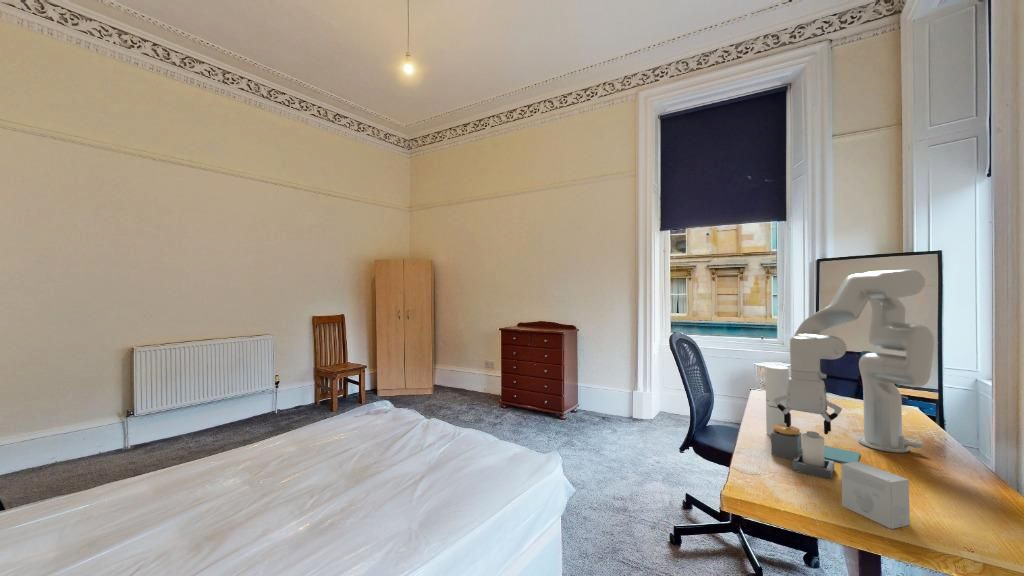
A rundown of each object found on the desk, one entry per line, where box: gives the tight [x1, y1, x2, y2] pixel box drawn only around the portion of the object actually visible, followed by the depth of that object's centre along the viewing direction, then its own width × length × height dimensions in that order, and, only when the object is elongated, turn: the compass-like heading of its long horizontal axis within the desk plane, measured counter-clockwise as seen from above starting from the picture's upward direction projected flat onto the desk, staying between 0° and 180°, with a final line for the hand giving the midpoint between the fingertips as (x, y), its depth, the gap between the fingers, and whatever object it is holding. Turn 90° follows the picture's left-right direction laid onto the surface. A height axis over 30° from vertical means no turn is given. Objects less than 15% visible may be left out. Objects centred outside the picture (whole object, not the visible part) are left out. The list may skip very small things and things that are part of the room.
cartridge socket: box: [791, 453, 835, 481], centre depth 116 cm, size 9×9×2 cm
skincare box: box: [840, 460, 911, 530], centre depth 93 cm, size 10×6×10 cm, turn 17°
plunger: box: [773, 424, 801, 436], centre depth 128 cm, size 7×7×5 cm
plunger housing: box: [770, 430, 803, 461], centre depth 128 cm, size 7×7×7 cm
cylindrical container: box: [764, 364, 790, 436], centre depth 145 cm, size 7×7×25 cm
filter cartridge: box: [802, 430, 825, 468], centre depth 116 cm, size 5×5×11 cm
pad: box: [824, 444, 861, 464], centre depth 128 cm, size 14×12×1 cm
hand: (807, 429), depth 124 cm, fingers open, 9 cm apart
